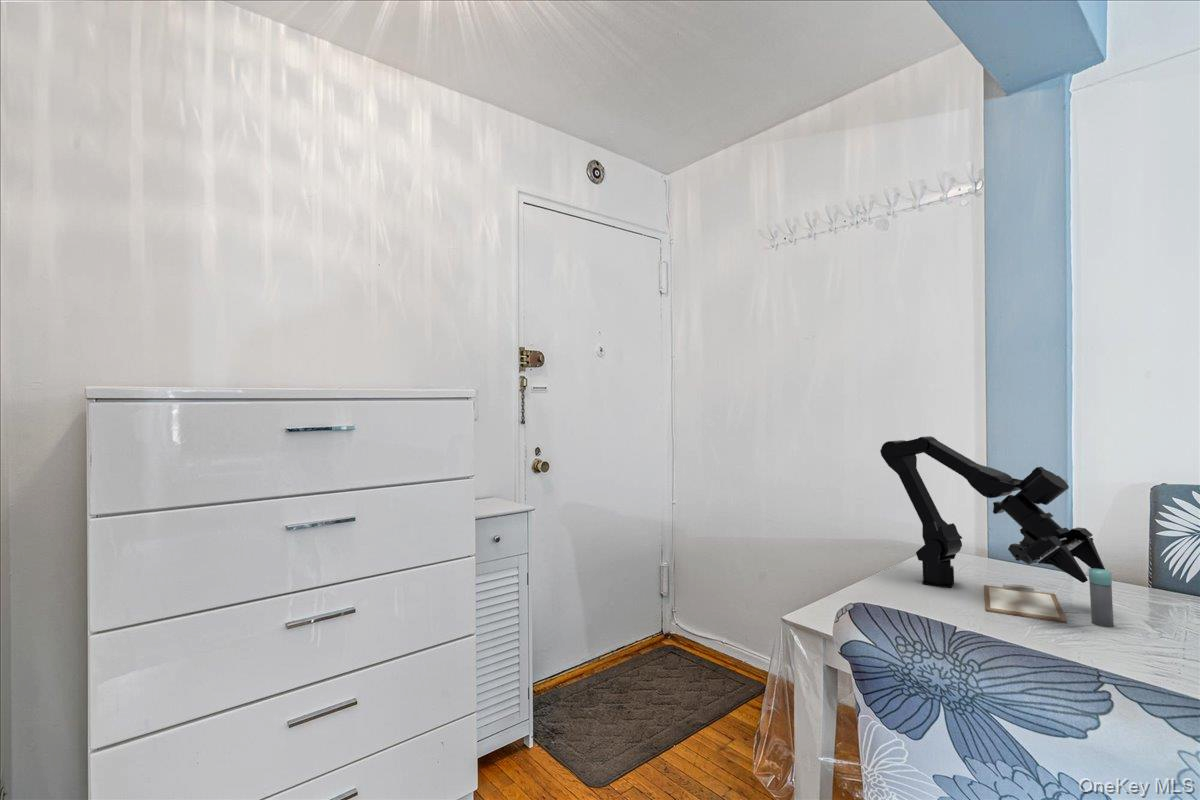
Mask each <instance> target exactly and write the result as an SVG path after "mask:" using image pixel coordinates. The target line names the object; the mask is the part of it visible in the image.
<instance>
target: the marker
mask: <svg viewBox="0 0 1200 800" xmlns="http://www.w3.org/2000/svg"><path fill="white" fill-rule="evenodd" d="M1087 570H1088V581H1089V597H1090V598H1089V600H1090V618H1091V624H1094V625H1096V626H1099V627H1104V628H1105V627H1106V628H1113V627H1114V625H1115V624H1114V604H1113V587H1112V585H1113V583H1112V582H1113V581H1112V579H1113V578H1112V571H1110V570H1108V569H1105V570H1104V569H1096V568H1088V569H1087Z"/></svg>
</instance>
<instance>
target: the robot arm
mask: <svg viewBox="0 0 1200 800" xmlns="http://www.w3.org/2000/svg"><path fill="white" fill-rule="evenodd" d="M879 452H880V456H881V458H882V459H883V460H884V461H885V464H886V465H888V467H889V468H890V469H891V470H892V471H894V472H895V473H896V475H898V477H899V479H900V482H901V483H902V485H903V487H904V490H905V491H906V493H907V496H908V497H909V499H910V502H911V504H912V506H913V508H914V510H915V512H916V514H917V516H918V518H919V520H920V522H921V525H922V529H921V530H922V535H921V536H922V537H921V538H922V539H923V543H924V545H923V546H921V547H920V548H919V549H918V550H917V551H916V552H915V554H916V557H917V559H918V561H920V562H921V561H922V581H921V582H922V583H921V584H922V585H924V586H925V585H926V586H931V587H932V586H933V587H940V588H948V589H952V588H953V585H954V584H955V569H954V568H955V567H954V566H953V565H952V561H951V560H954V559H955V558H956V556H957V554H958V553H959V552H960V551H961V549H962V547H963V542H962V539H963V537H962V536H961V535H960V533H959V531H958V529H957V526H956V524H955V523H953V522H952V523H949V524H948V523H947V522H946V520H944V519H943V518H942V517H941V514H940V512H939V510H938V509H937V506H936V505H935V502H934V500H933V498H932V496H931V494H930V492H929V491H928V489H927V487H926V485H925V482H924V480H923V479H922V476H921V474H920V472H919V471H918V469H917V467H918V466H917V460H918V457H917V455H919V454H923V453H924V454H925V455H927V456H928V457H930V458H932V459H933V460H935V461H937V462H938V463H940V464H942V465H943V466H945V467H947V468H948V469H950V470H951V471H953V472H955V473H957V474H958V475H960V476H961V477H962V478H964V479H965V480H966V481H967V482H968V484H969V485H970V486H971V488H973V489H974V490H975V491H976V492H978V493H979V494H980V495H981V496H983V497H985V498H988V499H995V498H1000V497H1005V498H1003V499H1002V500H1001V501H999V500H998V501H994V502H993V503H992V504H993V510H992V513H993V514H994V515H997V514H1001V513H1004V512H1005V513H1006V514H1007V515H1008V516H1009V517H1010V518H1011V519H1012V520H1013V521H1014V522H1015V523H1017V524H1018V526H1020V527H1021V528H1020V529H1019V532H1020V534H1021V535H1022V536H1023V538H1022V540H1021V541H1019V543H1012V544H1009V546H1008V549H1007V550H1008V551H1009V552H1010V554H1011V555H1012V557H1013V558H1014V559H1015V561H1018V562H1019V561H1022V562H1024V563H1025V564H1027V565H1029V566H1030V565H1031V564H1036V563H1038V564H1041V565H1042V564H1043V565H1051V566H1053V567H1055V568H1057V569H1059V570H1060V571H1062V572H1064V573H1066V574H1067V575H1069V576H1071V577H1072V578H1074V579H1076V580H1077V581H1078V582H1081V583H1087V582H1088V581H1089V578H1088V577H1087V576H1086V574H1085V572H1084V571H1083V569H1082V568H1081V566H1080V564H1079V563H1078V562H1077V560H1076V558H1077V559H1079V560H1080V561H1081V562H1082V563H1084V564H1086V566H1087V567H1089V569H1091V568H1096V569H1104V570H1106V568H1105V565H1104V564H1103V562H1102V560H1101V557H1100V555H1099V553H1098V550H1097V548H1096V545H1095V542H1094V537H1093V533H1091V531H1089V530H1088V529H1087V528H1085V527H1075V528H1071V529H1069V528H1067V527H1061V525H1060V524H1058V523H1057V521H1055V520H1054V519H1053V517H1054V515H1053V514H1052V513H1051V512H1045V511H1044V510H1043V509H1042V508H1040V507H1039V506H1038V505H1041V504H1042V505H1044V506H1047V505H1049V504H1050V503H1052V502H1053V501H1055V499H1057V498H1058V497H1060V496H1061V495H1062V494H1064V492H1066V491H1068V490H1069V484H1068V483H1067V482H1066V480H1064V479H1063V478H1062V477H1061V476H1060V475H1057V474H1055V473H1053V472H1051V471H1049V470H1047V469H1046V468H1044V467H1043V466H1038V467H1037V466H1036V467H1035V468H1034V469H1033V470H1032V471H1031V473H1030V474H1028V475H1027V476H1026V477H1024V478H1023V479H1018V478H1015V477H1012V476H1011V475H1010V474H1008V473H1006V472H1004V471H1001V470H998V469H995V468H993V467H990V466H987V465H986V466H985V465H983V464H979V463H977V462H975V461H974V460H972V459H970V458H968V457H966V456H965V455H963V454H962V453H960V452H958V451H957V450H954V449H953V448H951V447H949V446H948V445H946V444H944V443H943V442H941V441H939V440H938V439H937V438H935V437H933V436H920V437H918V438H914V439H910V440H909V439H908V440H904V439H900V440H889V441H885V442H884V443H883V444H882V445H881V447H880V451H879ZM1016 491H1018V492H1017V493H1016V494H1015V495H1013V494H1012V493H1013V492H1016Z"/></svg>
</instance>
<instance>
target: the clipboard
mask: <svg viewBox="0 0 1200 800" xmlns="http://www.w3.org/2000/svg"><path fill="white" fill-rule="evenodd" d="M1002 586H1003V587H1002ZM1002 586H997V585H996V586H995V585H987V584H985V585H983V594H984V609H985V610H984V611H985V612H989V613H996V614H1002V615H1010V616H1016V617H1024V618H1031V619H1036V620H1037V619H1038V620H1043V621H1044V620H1045V621H1050V622H1057V623H1064V624H1067V623H1068V620H1067V618H1066V616H1065V614H1064V612H1063V609H1062V607H1061V605H1060V602H1059V600H1058V597H1057V596H1056V594H1055V593H1051V592H1044V591H1042V592H1041V591H1036V590H1035V587H1034V586H1031V585H1023V584H1016V583H1015V584H1014V583H1008V582H1003V583H1002Z"/></svg>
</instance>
